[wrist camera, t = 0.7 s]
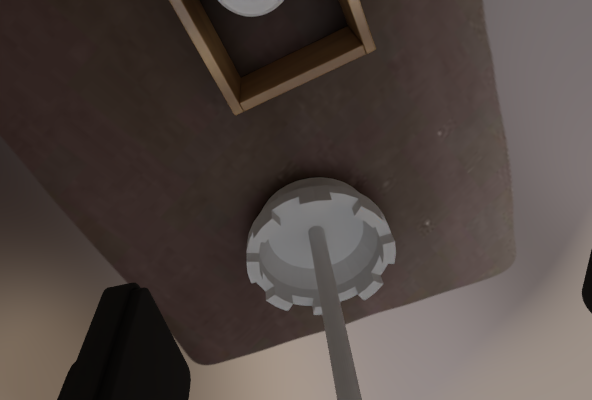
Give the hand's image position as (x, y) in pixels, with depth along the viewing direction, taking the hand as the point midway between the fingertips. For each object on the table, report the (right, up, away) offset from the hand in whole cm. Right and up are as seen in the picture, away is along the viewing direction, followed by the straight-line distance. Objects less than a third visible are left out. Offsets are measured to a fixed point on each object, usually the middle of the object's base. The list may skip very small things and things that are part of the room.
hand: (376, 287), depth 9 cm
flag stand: (0, -1, +34) cm, 34 cm away
